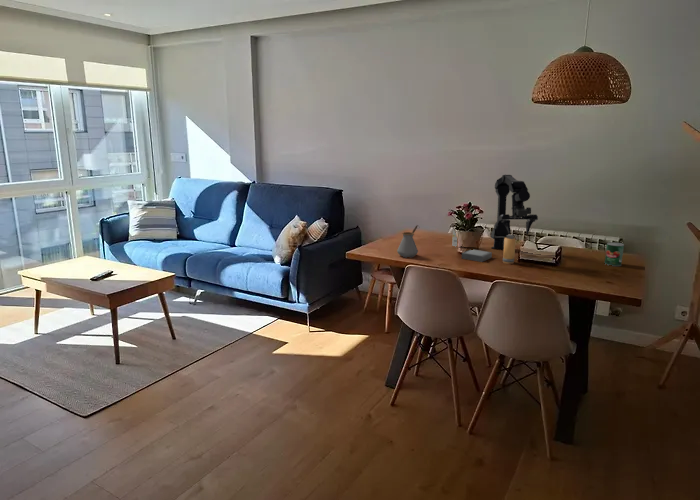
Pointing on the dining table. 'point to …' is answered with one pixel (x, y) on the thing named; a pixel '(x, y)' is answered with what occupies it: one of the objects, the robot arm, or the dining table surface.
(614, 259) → the canned tomato
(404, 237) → the coffee pot
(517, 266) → the dining table surface
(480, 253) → the stand
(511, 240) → the housing
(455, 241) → the ink cartridge box
